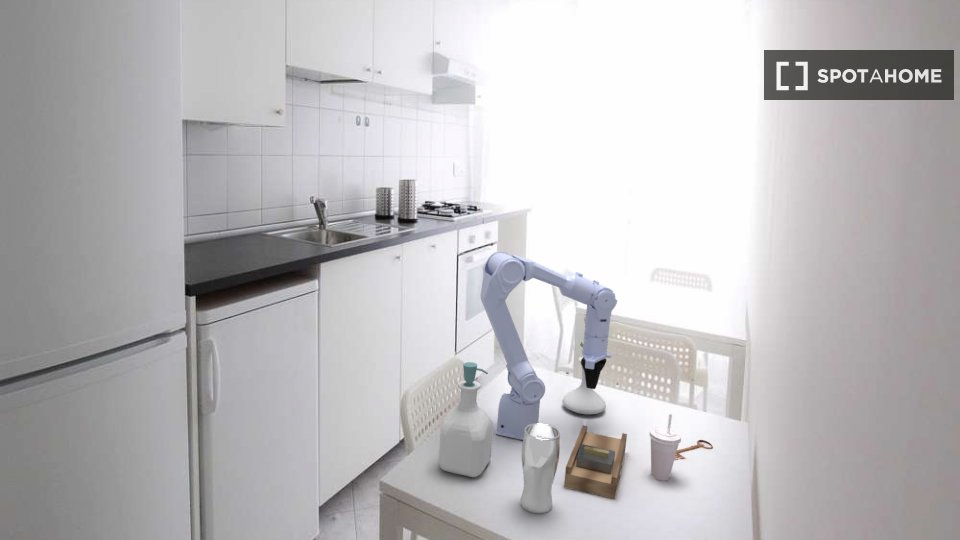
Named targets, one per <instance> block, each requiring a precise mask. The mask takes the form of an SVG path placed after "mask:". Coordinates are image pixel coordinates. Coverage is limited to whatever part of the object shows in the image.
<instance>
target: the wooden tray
mask: <svg viewBox="0 0 960 540" xmlns="http://www.w3.org/2000/svg"><path fill="white" fill-rule="evenodd" d="M627 438H628V434H627V433H624V432H622V433H621V438H617V437H612V436H609V435H603V434H597V433H593V432H588V425H584V424H583V425H582V426H581V429H580V432H579V434H578V435H577V438H576V442H575V444H574V446H573V449H572V451H571V453H570V456H569V458H568V460H567V462H566V463H567V464H566V465H565V474H564V486H563V487H564V488H565V489H566V488H567V489H571V490H575V491H580V492H583V493H589V494H592V495H596V496H601V497H604V498H609V499H613V500H615V499H616V495H617V490H618V485H619V481H620V476H621V472H622V467H623V463H624V459H625V453H626V446H627ZM582 444H584V445H588V446H593V447H598V448H603V449H607V450H612V451H615V457H614V463H613V467H612V471H611V474H609V473H604V472H600V471H596V470H591V469H587V468H582V467H578V466H576V461H577V456H578V453H579V450H580V448H581V445H582Z"/></svg>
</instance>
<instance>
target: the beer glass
mask: <svg viewBox="0 0 960 540" xmlns="http://www.w3.org/2000/svg"><path fill="white" fill-rule="evenodd" d="M560 436H561V432H560V429H558V428H557V427H555V426H553V425H551V424H548V423H543V422H540V423H539V422H538V423H534V424H530V425H528V426H526V427H525V432H524V438H523V440H522V444H521V445H522V447H521V467H522V475H523V488H522V489H523V490H522V493H521V497H520V501H519V503H520V506H521V508H523V509H524V510H525V511H526V512H528V513H531V514H538V515H539V514H540V515H541V514H542V515H543V514H546V513H549V512H550V511H551V510H552V509H553V498H552V497H553V496H552V493H553V492H552V491H553V490H552V489H553V483H554V480H555V477H556V474H557V470H558V466H559V465H558V464H559V460H560V449H561V445H560V444H561V439H560V438H561V437H560Z"/></svg>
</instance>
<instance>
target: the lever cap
mask: <svg viewBox="0 0 960 540" xmlns="http://www.w3.org/2000/svg"><path fill="white" fill-rule="evenodd" d="M614 457H615V451H612V450H607V449H603V448H598V447H593V446H588V445H584V444H582V445H581V448H580V450H579V453H578V456H577V461H576V466H578V467H582V468H587V469H591V470H596V471H600V472H604V473H609V474H611V471H612V467H613V463H614Z"/></svg>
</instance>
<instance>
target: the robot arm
mask: <svg viewBox="0 0 960 540" xmlns="http://www.w3.org/2000/svg"><path fill="white" fill-rule="evenodd" d="M482 271H483V274H482V282H481V291H480V300H481V304H482V306H483V308H484V310H485V312H486V315H487V317H488V320H489V322H490V325H491V327H492V330H493V332H494V335H495V338H496V340H497V342H498V345H499V347H500V350H501V353H502V354H503V358H504V359H505V361H506V367H505V368H506V370H507V383H508V384H509V386H510V387H511V389H510V392H509V393H503V394H502V395H500V396H501V397H500V400H499V404H498V410H497V422H496V423H497V426H496V432H495V434H496V435H498V436H502V437H507V438H511V439H515V440H516V439H517V440H520V441H523V438H524V432H525V427H526V426H528V425H530V424H534V423H539V417H540V404H541V400H542V399H543V397H544V396H545V394H546V385H545V383H544V381H543V380H542V378H540V377H538V375H537V373H536V371H535V369H534V367H533V366H532V364H531V362H530V361H529V359H528V357H527V356H528V355H527V353H526V350H525V349H524V346H523V343H522V340H521V338H520V336H519V333H518V331H517V327H516V326H515V323H514V321H513V318H512V316H511V313H510V310H509V306H508V305H507V303H506V300H507V299H508V296H509V294H510V293H512V292H513V290H514V289H516V287H517V286H519V284H521V283H522V281H524V282H528V281H531V280H532V279H535V280H538V281H540V282H543V283H545V284H549V285H552V286H554V287H557V288H558V289H559V291H560V293H561V295H562V296H564V297H566V298H569V299H571V300H573V301H576V302H578V303H581V304H583V305H586V314H585V316H586V321H584V333H583V342H582V343H583V347H582V349H581V355H582V357H583V358H582V360H581V363H580V366H581V365H582V366H581V368H582V367H583V369H584V373H585V379H586V386H587V388H590V389H593V390H596V388H597V386H598V383H599V379H600V377H601V372H602V370H603V369H604V367H605V365H606V363H607V358H608V359H611V358H612V355H613V353H612V352H608V345H609V344H608V343H609V336H610V335H609V333H610V324H611V322H610V321H611V317H612V312H613V310H614V309H615V307H616V305H617V304H618V299H616V294H615V292H614V291H613V290H612V289H611V288H609V287H607V286H605V285H602V284H600V282H599V281H598V280H595V279H594V280H590V279H589V278H586V277H583V276H584V274H583V273H581V272H578V271H576V272H575V273H574V272H568V273H566V274H562V273H560V272H558V271H555V270H553V269H552V268H549V267H546V266H544V265H542V264H540V263H538V262H535V261H533V260H531V259H529V258H526V257H523V256H519V255H516V254H511V255H510V254H509V253H507V252H505V251H496V252H493V253H491V254H490V255H489V257H488V258H487V260H486V262H485V263H484V265H483V266H482Z"/></svg>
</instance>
